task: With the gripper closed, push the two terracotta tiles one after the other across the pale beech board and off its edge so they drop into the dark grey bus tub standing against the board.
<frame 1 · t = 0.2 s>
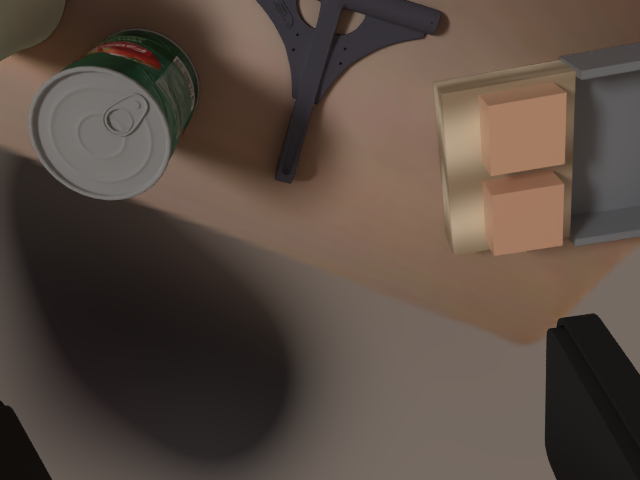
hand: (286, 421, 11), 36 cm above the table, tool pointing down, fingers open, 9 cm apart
board: (498, 155, 47), on the table
bracket: (307, 81, 45), on the table
tile a: (516, 123, 43), point 3 cm above the table, touching board
tile b: (517, 205, 46), point 3 cm above the table, touching board
canned tomato: (145, 84, 44), on the table
bus tub: (614, 135, 46), on the table
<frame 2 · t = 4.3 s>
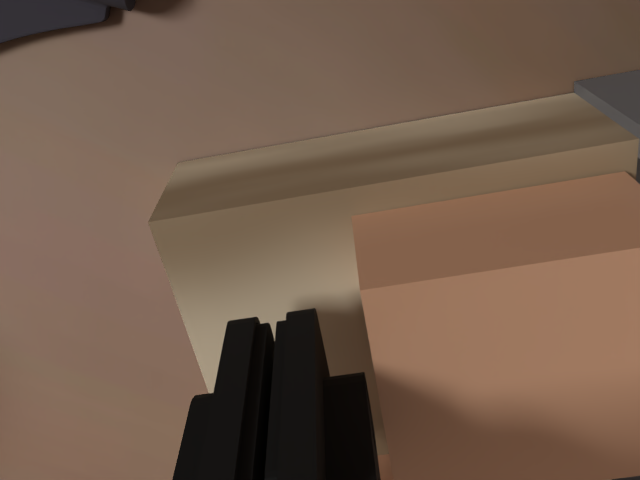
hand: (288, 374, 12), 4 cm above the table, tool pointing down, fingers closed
board: (403, 351, 17), on the table
tile a: (491, 304, 12), point 3 cm above the table
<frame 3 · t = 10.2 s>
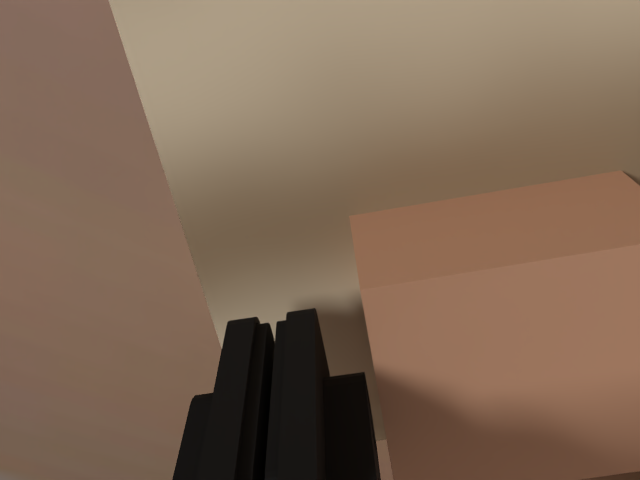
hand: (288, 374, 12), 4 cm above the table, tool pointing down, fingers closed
board: (397, 124, 14), on the table
tile b: (488, 302, 12), point 3 cm above the table, touching board
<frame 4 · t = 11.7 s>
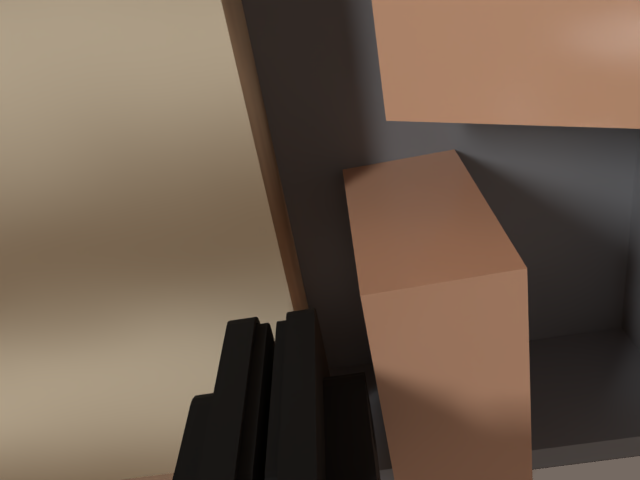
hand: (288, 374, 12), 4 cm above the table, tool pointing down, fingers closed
board: (86, 181, 14), on the table
tile b: (369, 326, 13), point 3 cm above the table, tilted 90°, touching bus tub, gripper
bus tub: (463, 118, 14), on the table
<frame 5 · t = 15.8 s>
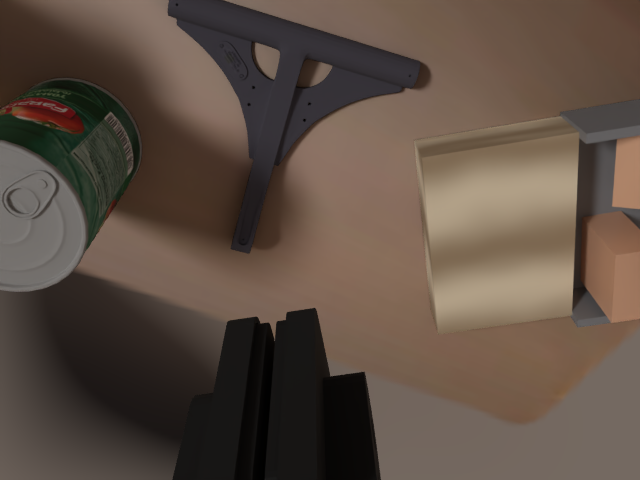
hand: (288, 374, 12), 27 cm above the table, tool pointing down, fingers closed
board: (489, 220, 41), on the table
bracket: (267, 138, 39), on the table
tile b: (596, 268, 39), point 3 cm above the table, tilted 90°, touching bus tub
canned tomato: (79, 139, 38), on the table
bus tub: (623, 200, 40), on the table
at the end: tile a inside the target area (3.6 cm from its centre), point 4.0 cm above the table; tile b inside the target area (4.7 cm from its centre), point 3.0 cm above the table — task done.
